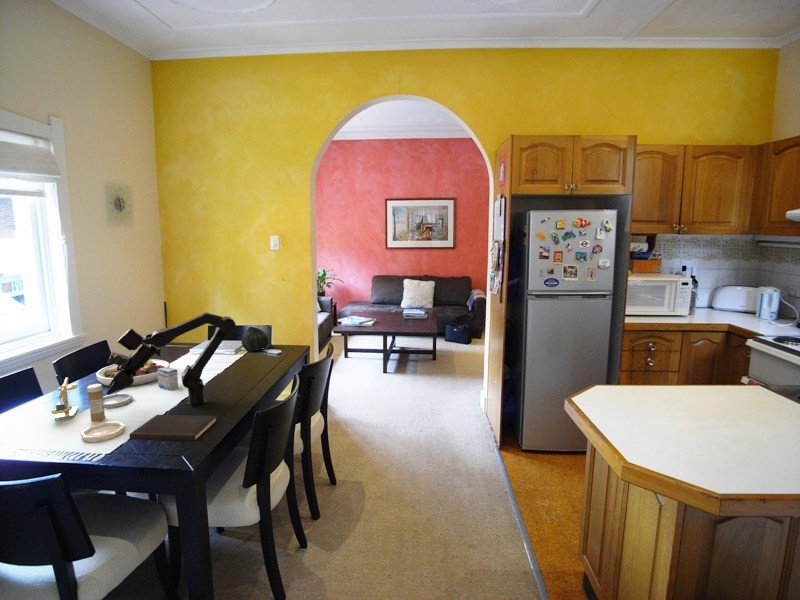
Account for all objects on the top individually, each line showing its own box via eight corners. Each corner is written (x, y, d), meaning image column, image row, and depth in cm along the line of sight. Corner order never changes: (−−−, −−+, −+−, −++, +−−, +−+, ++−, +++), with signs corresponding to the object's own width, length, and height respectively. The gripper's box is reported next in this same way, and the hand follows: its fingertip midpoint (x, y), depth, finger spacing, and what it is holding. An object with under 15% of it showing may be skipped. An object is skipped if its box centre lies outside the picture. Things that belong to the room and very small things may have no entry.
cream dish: (128, 433, 152) (128, 428, 151) (88, 445, 143) (87, 440, 142) (117, 423, 159) (116, 418, 159) (77, 434, 150) (77, 429, 150)
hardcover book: (157, 420, 164) (157, 414, 163) (217, 421, 162) (216, 415, 162) (129, 440, 148) (128, 434, 147) (195, 442, 147) (194, 435, 146)
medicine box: (158, 387, 196) (156, 369, 195) (167, 384, 200) (166, 366, 199) (169, 390, 193) (168, 371, 191) (178, 387, 197) (177, 369, 195)
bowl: (81, 384, 200) (79, 368, 199) (139, 366, 228) (137, 351, 227) (130, 392, 191) (128, 375, 189) (183, 372, 219) (182, 357, 218)
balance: (62, 407, 173) (59, 376, 171) (81, 405, 176) (77, 373, 174) (51, 426, 157) (46, 391, 155) (71, 422, 160) (67, 388, 158)
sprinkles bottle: (95, 417, 164) (91, 383, 162) (108, 416, 165) (104, 383, 163) (88, 422, 160) (84, 387, 158) (101, 422, 160) (97, 387, 158)
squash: (271, 343, 253) (265, 321, 260) (244, 347, 246) (239, 325, 253) (268, 354, 264) (263, 333, 271) (242, 358, 257) (238, 337, 263)
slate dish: (136, 402, 179) (135, 398, 179) (102, 411, 170) (101, 406, 170) (125, 395, 187) (125, 391, 187) (93, 403, 178) (92, 399, 178)
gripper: (123, 339, 171) (92, 370, 167) (119, 351, 155) (84, 385, 151) (148, 356, 176) (118, 386, 172) (146, 369, 160) (113, 403, 156)
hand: (108, 389), depth 163 cm, fingers open, 9 cm apart
